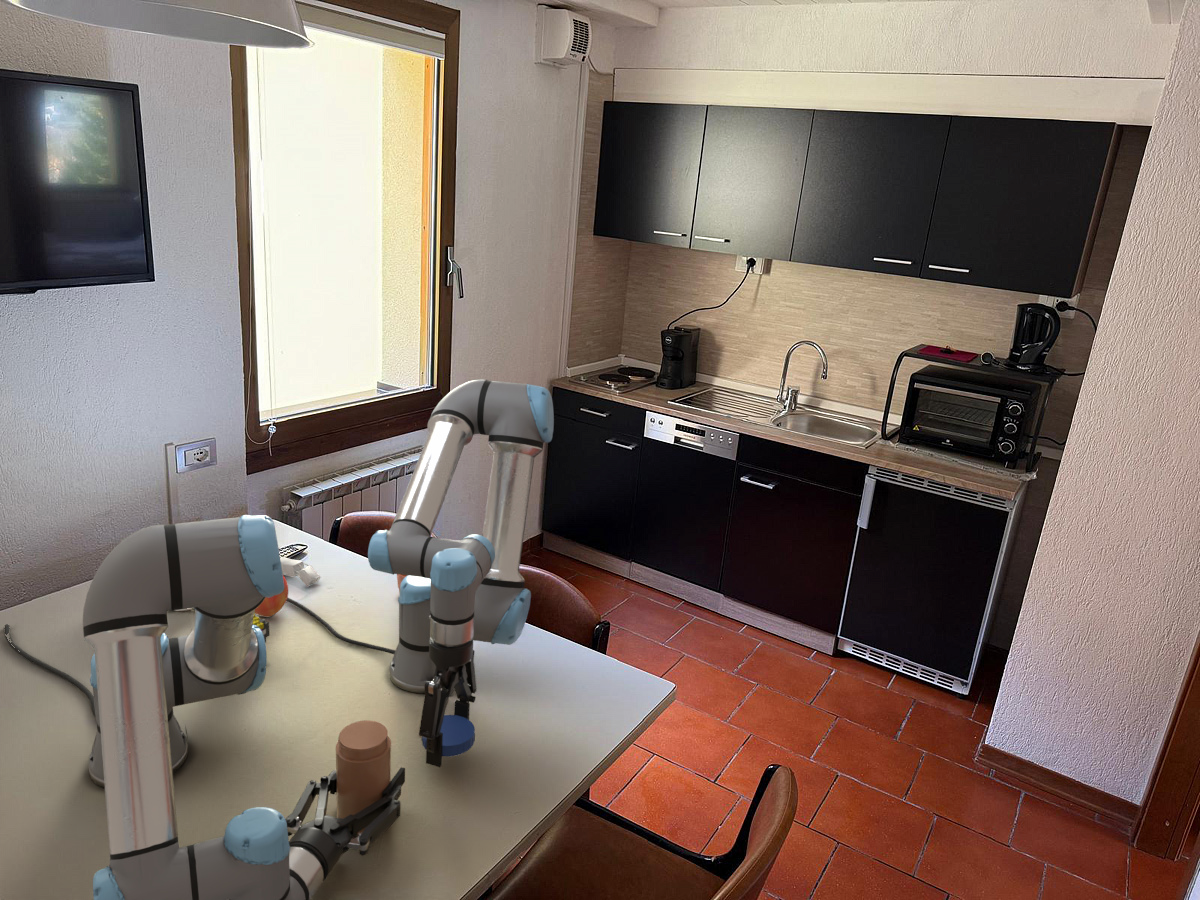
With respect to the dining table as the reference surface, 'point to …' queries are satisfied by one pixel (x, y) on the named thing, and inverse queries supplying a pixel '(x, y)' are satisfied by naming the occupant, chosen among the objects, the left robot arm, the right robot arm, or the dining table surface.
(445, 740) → the lid
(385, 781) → the jar
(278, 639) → the dining table surface
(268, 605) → the apple
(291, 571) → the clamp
